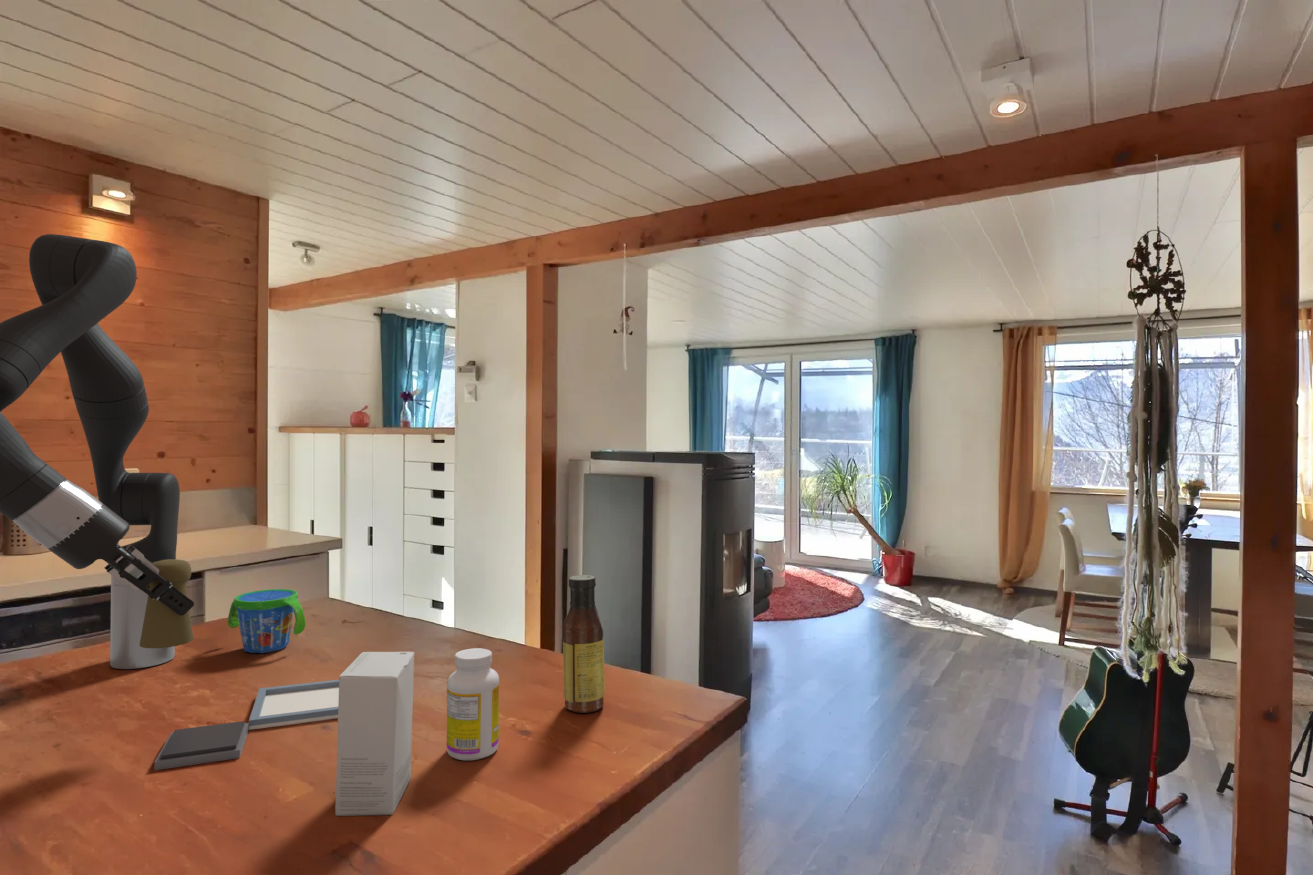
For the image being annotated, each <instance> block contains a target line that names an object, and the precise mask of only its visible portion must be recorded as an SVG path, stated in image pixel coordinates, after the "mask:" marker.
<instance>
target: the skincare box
mask: <svg viewBox="0 0 1313 875" xmlns="http://www.w3.org/2000/svg"><path fill="white" fill-rule="evenodd" d="M414 669H415V652H414V651H363V652H362V651H361V653H360V654H359V655H358V656H357V657H356V658H355V659H354V660H353V661H352V662H351V663H350V664H349V665H348V667H347V668H346V669H345V670H344V671H343V672H342V673H341V674H339V676H338V680H339V704H338V718H337V738H336V740H337V742H336V744H337V745H336V775H335V776H336V777H335V782H336V783H335V805H334V806H335V807H334V808H335V809H334V810H335V813H334V814H335V816H336V817H348V816H349V817H350V816H351V817H352V816H353V817H354V816H385V815H386V816H388V815H390V816H391V815H394V813H395V812H396V809H397V808H398V805H399V803H400V802H401V799H402V798H403V795H404V793H405V791H406V789H407V787H408V785H409V783H410V781H411V779H412V778H411V777H412V774H411V773H412V770H411V769H412V738H413V737H412V736H413V734H412V733H413V707H414V706H413V705H414V704H413V702H414V700H413V699H414V673H415V671H414Z"/></svg>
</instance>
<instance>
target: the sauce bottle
mask: <svg viewBox="0 0 1313 875" xmlns="http://www.w3.org/2000/svg"><path fill="white" fill-rule="evenodd" d="M568 586H569V589H570V591H569V592H570V596H569V597H570V598H569V599H570V601H569V606H570V607H569V611H568V613H567V614H566V616H565V618H564V621H563V622H562V623H563V624H562V626H563V627H562V628H563V631H562V632H563V639H562V668H563V670H562V671H563V672H562V676H563V677H562V678H563V698H564V707H565V709H566V710H569V711H572V712H573V713H578V714H579V713H580V714H581V713H582V714H584V713H585V714H588V713H592V712H593V713H594V712H597V711H598V710H600V709H601V708H603V706H604V704H605V702H604V700H605V699H604V698H605V697H604V696H605V694H606V692H605V691H606V689H605V686H606V685H605V683H606V682H605V646H604V645H605V642H604V641H605V640H604V637H605V636H604V635H605V634H604V629H603V627H602V623H601V620H600V616H599V614H598V610H597V605H596V599H595V598H596V597H595V596H596V595H595V588H596V577H595V576H593V575H589V574H580V575H579V574H576V575H572V576H570V577H569V578H568Z"/></svg>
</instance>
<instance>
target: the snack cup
mask: <svg viewBox="0 0 1313 875" xmlns="http://www.w3.org/2000/svg"><path fill="white" fill-rule="evenodd" d="M298 597H299V594H298V591H296V590H295V589H294V590H293V589H289V588H273V589H272V588H270V589H261V590H260V589H259V590H253V591H248V592H246V593H241V594H239V595H236V596H235V597H234V598H233V601H232V603H231V604H230V609H229V612H228V617H227V625H228V627H229V628H230V629H235V628H238V627H239V632H240V637H241V644H242V647H243V651H244V652H248V653H251V654H264V653H265V654H266V653H271V652H276V651H280V650H284V648H286V647H287V646H288V645H289V643H290V638H291V634H292V633H291V632H292V627H293V634H294V635H300V634H301V633H303V632H304V630H305V628H306V616H305V613H304V610H303V606H302V603H301V602H300V601H299V599H298ZM294 618H295V622H294V621H293V620H294ZM293 622H294V626H293Z"/></svg>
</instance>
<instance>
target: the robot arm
mask: <svg viewBox="0 0 1313 875" xmlns="http://www.w3.org/2000/svg"><path fill="white" fill-rule="evenodd" d="M28 261H29V262H28V263H29V264H28V265H29V272H30V276H31V280H32V283H33V287H34V288H35V291H36V294H37V296H38V299H39V301H40V303H41V305H39V306H37V307H34V308H32V309H30V310H26V311H25V312H23V313H20V314H17V315H15V316H12V317H10V318H8V319H6V320H3V321H1V322H0V514H1V515H3V516H5V517H6V518H7V519H8V520H10V521H12V522H13V523H14V524H16V526H18V527H19V528H20V529H21V530H22V531H23V532H24V533H25V534H26V535H28V537H30V538H31V539H33V540H35V542H37V543H38V544H40V545H41V546H43V547H44V548H45V549H47V550H48V551H50V552H51V553H53V555H54V554H55V555H56V557H58V558H59V559H61V560H63V561H64V562H65V563H66V564H68V565H69V566H71V567H73V568H74V569H76V570H83V569H86V568H87V567H88V568H89V567H90V566H91V565H93V564H94V563H95V562H96V561H98V560H103V561H105V563H107V564H106V565H105V566H104V567H103V568H104V569H105V570H106V571H105V572H107V573H108V574H110V642H109V643H110V645H109V646H110V647H109V649H110V650H109V656H110V657H109V658H110V659H109V660H110V661H109V667H111V668H113V669H116V670H117V669H119V670H133V669H142V668H148V667H149V668H150V667H154V666H157V665H161V664H164V663H167V662H169V661H171V660H173V659H174V658H175V654H176V653H175V651H176V650H175V649H176V646H173V647H166V648H143V647H140V646H139V645H140V639H141V634H142V628H143V622H144V617H145V611H146V605H147V600H148V595H149V597H150V598H151V599H155V600H157V601H158V600H159V601H161V602H162V603H163V604H165V605H166V606H167V607H169V608H170V609H172V610H173V611H174V612H176V613H177V614H178V615H181V616H182V615H185V614H186V613H187V612H188V611H189V610H191V609H192V608H193V607H194V605H195V602H194V601H193V600H192V599H191V598H189V596H188V597H187V596H185V595H184V594H183V593H181V592H180V591H178V590H177V589H176V588H174V587H173V585H172V583H171V582H170V581H168V580H165V579H164V578H163V577H161V576H160V575H159V574H160V570H159V569H158V568H157V567H155V566H154V565H153V564H151V563H153V562H157V561H161V560H167V559H177V545H178V525H179V511H180V501H181V500H180V499H181V498H180V495H181V493H180V484H179V481H178V478H177V477H176V476H175V475H174V474H173V473H169V472H128V471H127V470H126V469H125V465H124V456H125V455H126V452H127V450H128V449H129V447H130V446H131V443H132V442H133V440H134V439H135V438H136V436H137V435H138V433H139V432H140V430H141V429H142V428H143V426H144V424H145V423H146V420H147V419H148V418H147V417H148V415H149V410H150V405H149V401H148V397H147V396H148V395H147V392H146V387H145V383H144V378H143V376H142V373H141V371H140V370H139V368H138V367H137V365H136V363H134V362H133V360H132V359H131V358H130V357H129V356H128V355H127V353H126V352H124V351H123V350H122V348H120V347H119V345H117V343H115V341H114V340H113V339H112V338H111V337H110V336H109V335H108V334H107V333H106V331H104V330H103V329H102V327H101V325H100V324H99V323H100V322H101V321H102V320H103V319H105V318H106V317H107V316H108V315H109V314H111V313H113V312H114V311H115V310H116V309H118V308H119V307H120V306H122V305H123V304H124V303H125V302H126V300H127V299H129V297H130V296H131V294H132V293H133V291H134V289H135V286H136V284H137V274H138V273H137V265H136V263H135V260H134V258H133V255H132V254H131V252H129V250H127V249H126V248H125V247H123V246H121V245H120V244H117V243H113V242H110V241H109V242H108V241H104V240H98V239H92V238H84V237H77V236H72V235H67V234H66V235H63V234H55V233H51V234H49V233H47V234H42V235H40V236H39V237H37V238H36V239H35V240H34V241H33V242H32V244H31V247H30V250H29V257H28ZM59 354H61V356H62V360H63V363H64V367H65V370H66V372H67V376H68V381H69V386H70V389H71V394H72V398H73V401H74V404H75V407H76V410H77V414H78V417H79V420H80V422H81V426H82V428H83V432H84V435H85V438H86V442H87V446H88V449H89V453H90V457H91V463H92V468H93V474H94V479H95V485H96V486H95V487H96V491H97V498H96V497H95V496H93V495H92V494H91V493H90V492H89V491H87V490H86V489H84V488H83V487H81V486H79V485H78V484H76V483H75V482H72V481H71V480H69V479H67V478H66V477H65V475H63V474H61V473H60V472H58V470H56V469H54V468H53V467H52V466H51V465H49V464H48V463H47V462H46V461H44V460H43V459H41V458H40V457H39V456H38V455H36V453H34V452H33V450H32V449H31V447H30V446H29V444H28V443H27V441H26V440H25V439H24V437H22V436H21V434H20V433H19V432H18V430H17V429H16V428H15V427H14V426H13V425H12V423H11V422H10V421H9V419H7V418H6V416H5V415H4V414H3V413H2V411H4V410H5V409H6V408H8V407H9V406H10V405H12V404H13V403H14V402H15V401H17V400H18V399H19V398H20V397H22V395H24V393H25V392H26V391H27V390H28V389H29V387H31V385H32V384H33V383H34V382H35V380H37V378H38V377H39V376H40V375H41V373H43V371H44V370H45V368H46V367H48V365H49V364H50V363H51V362H52V361H53V360H54V359H55V358H56V357H57V356H58V355H59ZM130 526H150V529H149V533H148V535H146V536H145V537H143V538H142V539H139V540H138V541H135V542H131V543H129V544H128V543H127V544H125V545H120V544H119V542H120V541H121V540H122V539H123V538H124V537H125V536H126V535H127V533H128V532H129V530H130ZM148 567H149V568H148ZM154 579H157V580H159V581H160V583H159V584H158V585H157V586H156V587H155V588H154V589H152V590H150V586H149V585H148V584H150V583H151V582H152V581H153V580H154Z"/></svg>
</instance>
